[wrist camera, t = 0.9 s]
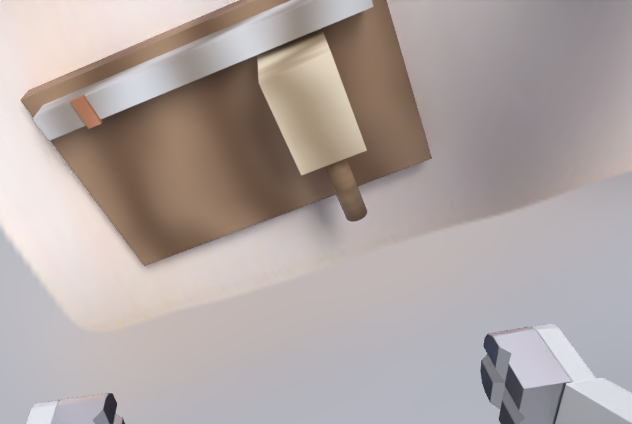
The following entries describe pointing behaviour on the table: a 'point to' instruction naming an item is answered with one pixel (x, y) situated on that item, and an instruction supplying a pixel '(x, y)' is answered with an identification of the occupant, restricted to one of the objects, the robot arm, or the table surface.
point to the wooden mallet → (314, 113)
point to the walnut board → (222, 121)
